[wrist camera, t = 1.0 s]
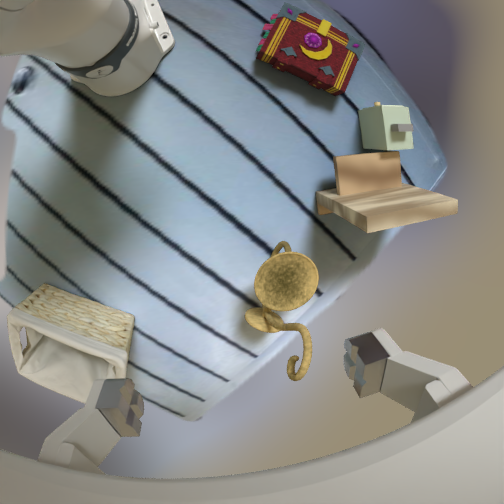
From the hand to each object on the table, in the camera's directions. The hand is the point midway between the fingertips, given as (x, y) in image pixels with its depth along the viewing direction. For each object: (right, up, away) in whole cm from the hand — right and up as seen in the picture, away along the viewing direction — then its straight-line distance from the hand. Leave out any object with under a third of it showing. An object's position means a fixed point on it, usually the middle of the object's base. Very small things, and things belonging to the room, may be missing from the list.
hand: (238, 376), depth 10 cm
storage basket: (-34, -11, +42) cm, 55 cm away
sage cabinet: (+22, +27, +35) cm, 49 cm away
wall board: (+19, +17, +38) cm, 46 cm away
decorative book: (+9, +38, +29) cm, 49 cm away
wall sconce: (+4, +2, +42) cm, 42 cm away
